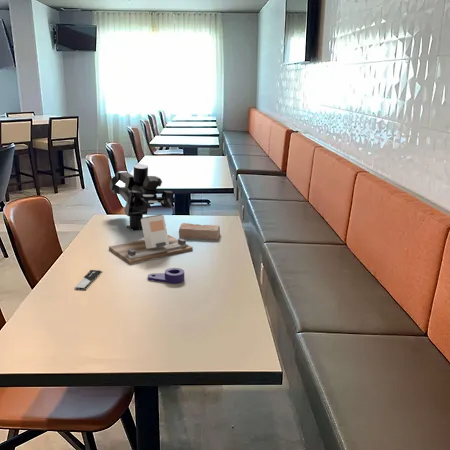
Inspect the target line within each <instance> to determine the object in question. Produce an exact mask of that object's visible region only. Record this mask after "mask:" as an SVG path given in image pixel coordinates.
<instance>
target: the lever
mask: <svg viewBox="0 0 450 450" xmlns="http://www.w3.org/2000/svg"><path fill="white" fill-rule="evenodd" d="M147 280H148V281H150V282H159V283H165V284H172V285H177V284H181V283H184V282H185V270H184V269H183V268H180V267H171V268H167V269H165V271H164V272H158V273H156V272H155V273H154V272H153V273H149V274H148V275H147Z"/></svg>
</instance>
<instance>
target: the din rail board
mask: <svg viewBox="0 0 450 450" xmlns="http://www.w3.org/2000/svg"><path fill="white" fill-rule="evenodd" d="M167 236H168V241H169V245H164V246H160V247H155V248H148V249H146V244H145V239H141V240H136V241H130V242H125V243H121V244H120V243H119V244H116V245H110V246H108V250H109V251H111V252H112V253H113V254H115V255H116V256H117V257H119V258H121V259H122V260H123V261H124V262H126V263H128V264H129V265H134V264H138V263H142V262H146V261H152V260H156V259H159V258H160V259H161V258H165V257H169V256H174V255H177V254H182V253H186V252H190V251H193V249H194V248H193V246H191V245H189V244H188V243H186V241H187V240H186V239H185V238H178V239H177V238H176V237H174V236H173V235H170V234H167Z"/></svg>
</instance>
